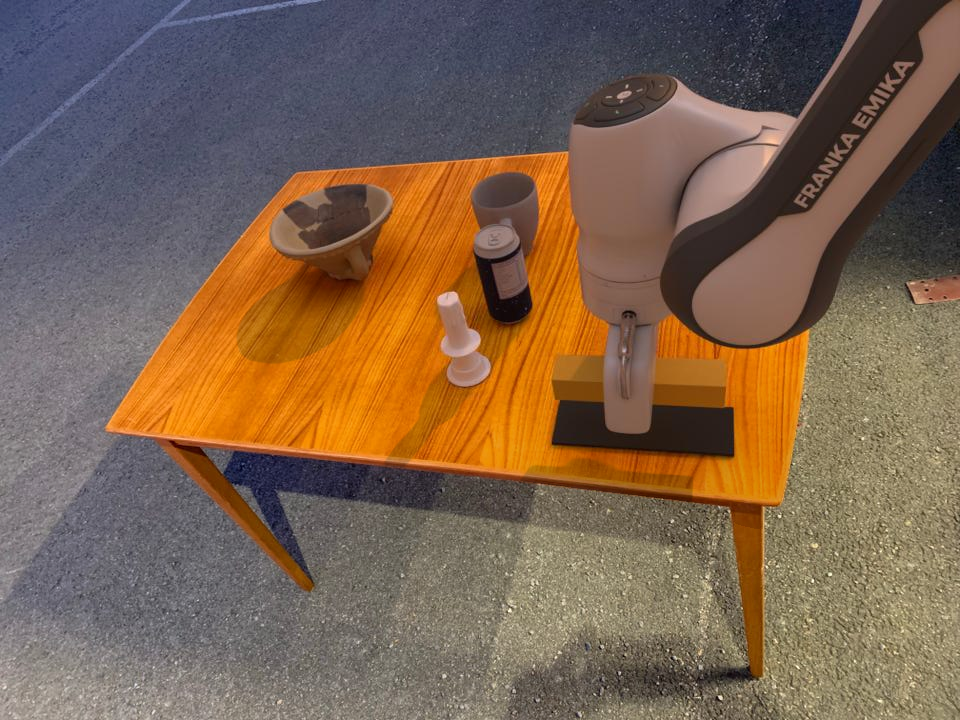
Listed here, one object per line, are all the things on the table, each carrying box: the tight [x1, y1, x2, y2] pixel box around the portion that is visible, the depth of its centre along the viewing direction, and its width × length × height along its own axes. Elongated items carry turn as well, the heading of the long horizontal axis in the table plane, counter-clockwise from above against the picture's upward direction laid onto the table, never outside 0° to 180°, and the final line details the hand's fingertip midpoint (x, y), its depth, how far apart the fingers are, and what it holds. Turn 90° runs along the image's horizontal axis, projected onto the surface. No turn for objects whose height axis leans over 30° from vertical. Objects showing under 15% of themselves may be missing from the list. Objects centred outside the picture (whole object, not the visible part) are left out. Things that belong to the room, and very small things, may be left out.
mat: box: [551, 400, 736, 458], centre depth 72 cm, size 18×6×1 cm, turn 77°
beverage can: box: [472, 224, 534, 325], centre depth 85 cm, size 6×6×12 cm
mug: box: [470, 171, 540, 257], centre depth 94 cm, size 12×9×10 cm
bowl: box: [268, 183, 394, 282], centre depth 100 cm, size 18×18×10 cm
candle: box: [436, 291, 492, 388], centre depth 79 cm, size 5×5×12 cm
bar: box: [551, 354, 727, 408], centre depth 67 cm, size 4×16×3 cm, turn 77°
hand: (638, 386), depth 68 cm, fingers closed on bar, 3 cm apart
